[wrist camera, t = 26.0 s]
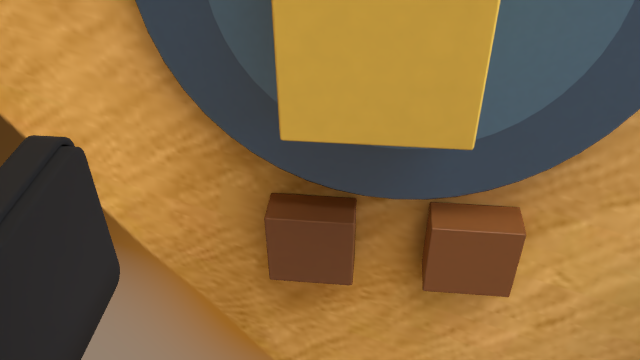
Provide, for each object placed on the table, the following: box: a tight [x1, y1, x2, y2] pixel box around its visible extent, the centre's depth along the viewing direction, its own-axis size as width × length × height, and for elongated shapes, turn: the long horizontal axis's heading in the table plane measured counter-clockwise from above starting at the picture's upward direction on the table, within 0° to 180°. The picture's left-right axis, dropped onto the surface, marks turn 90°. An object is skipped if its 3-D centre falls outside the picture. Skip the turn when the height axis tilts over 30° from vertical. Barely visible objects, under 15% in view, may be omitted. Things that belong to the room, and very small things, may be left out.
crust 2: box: [422, 202, 526, 297], centre depth 30 cm, size 4×4×2 cm
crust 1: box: [264, 193, 357, 285], centre depth 31 cm, size 4×4×2 cm
